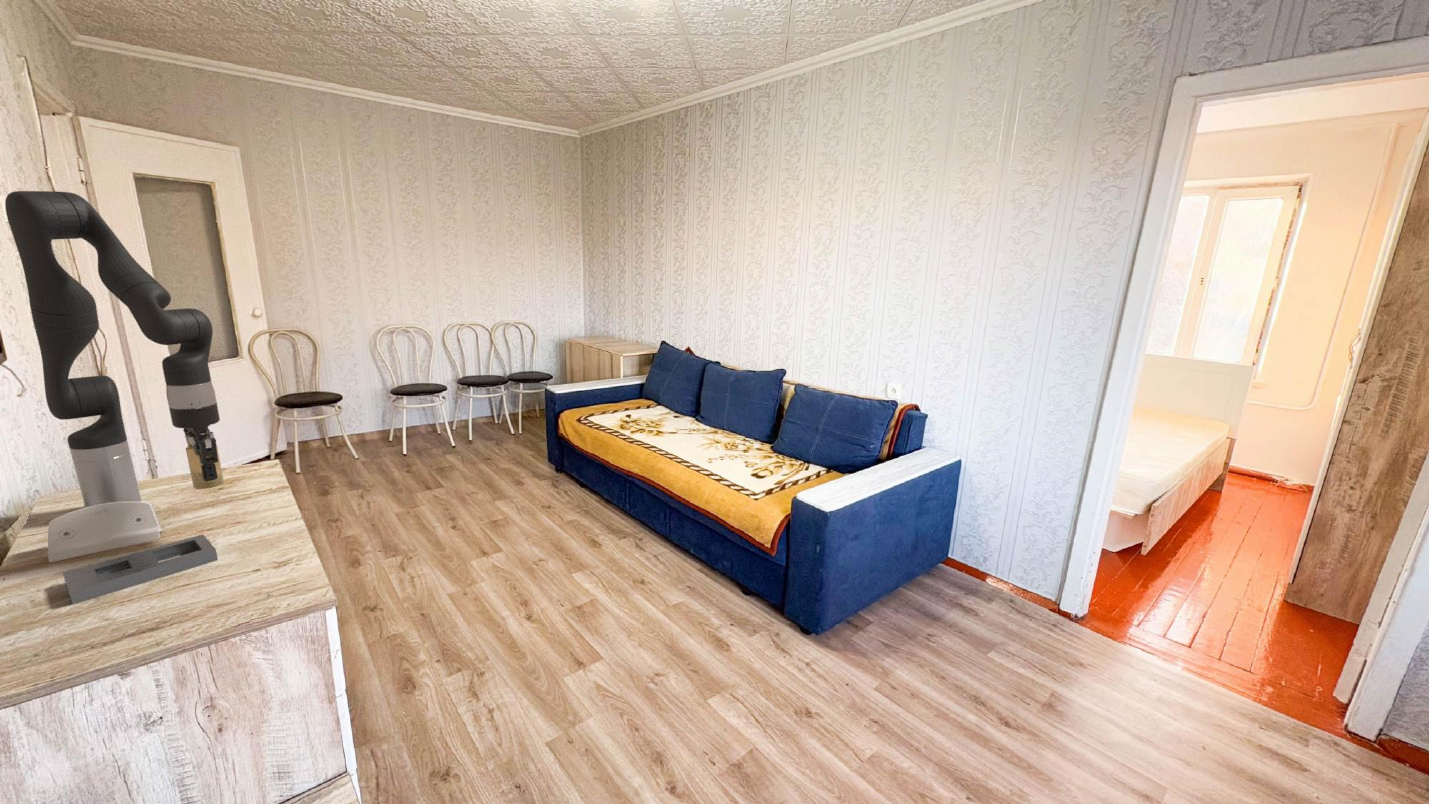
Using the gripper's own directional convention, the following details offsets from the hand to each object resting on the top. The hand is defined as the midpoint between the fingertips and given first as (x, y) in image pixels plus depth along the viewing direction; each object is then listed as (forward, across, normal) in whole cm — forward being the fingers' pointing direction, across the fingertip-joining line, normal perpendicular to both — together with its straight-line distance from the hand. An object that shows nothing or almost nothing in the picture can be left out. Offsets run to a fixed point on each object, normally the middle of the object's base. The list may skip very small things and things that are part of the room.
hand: (207, 476), depth 121 cm
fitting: (+2, 0, 0) cm, 2 cm away
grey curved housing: (+15, -12, -16) cm, 24 cm away
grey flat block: (+14, +9, -13) cm, 21 cm away
